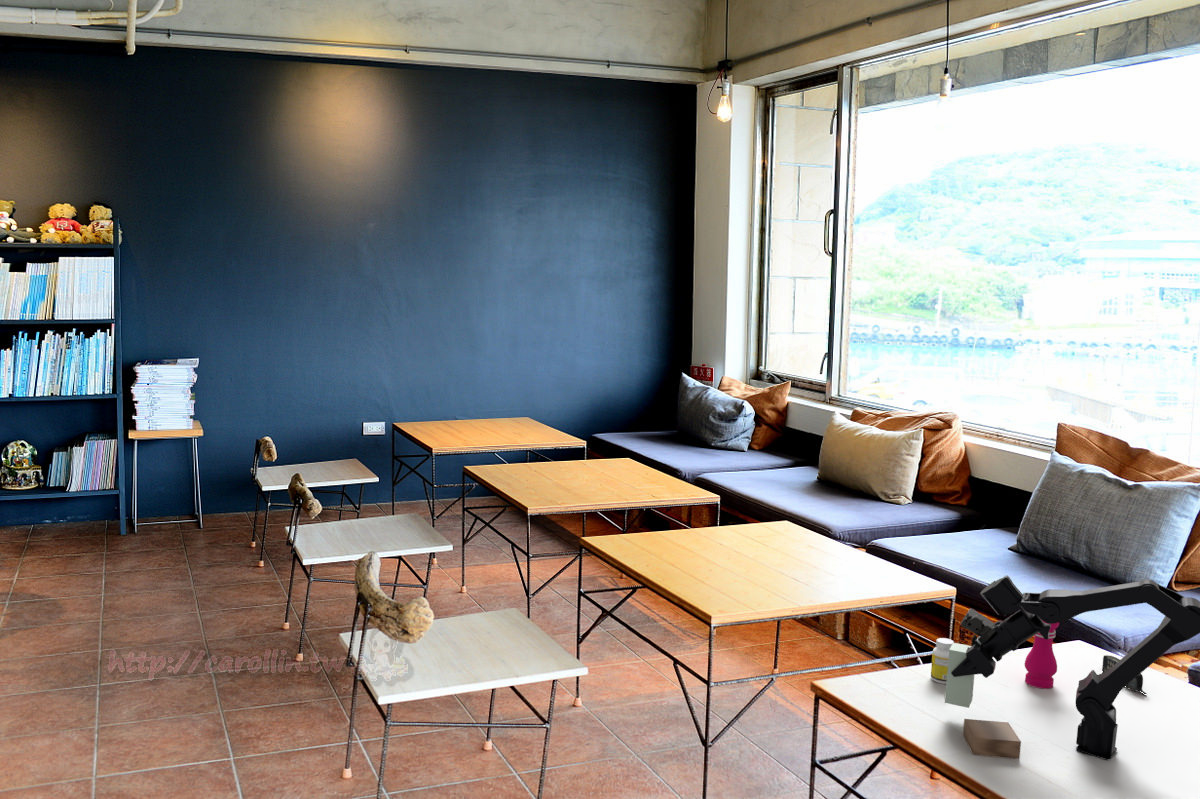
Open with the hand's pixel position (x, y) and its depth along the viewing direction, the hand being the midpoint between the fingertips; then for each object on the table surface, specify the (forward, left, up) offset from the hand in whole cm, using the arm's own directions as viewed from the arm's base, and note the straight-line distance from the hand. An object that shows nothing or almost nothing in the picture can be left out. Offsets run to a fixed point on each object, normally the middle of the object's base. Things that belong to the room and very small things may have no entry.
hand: (954, 670), depth 226 cm
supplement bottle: (+10, -20, -11) cm, 25 cm away
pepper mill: (-8, -35, -11) cm, 38 cm away
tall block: (-1, 0, -7) cm, 7 cm away
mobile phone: (-24, -51, -11) cm, 57 cm away
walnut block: (-11, +8, -11) cm, 18 cm away
